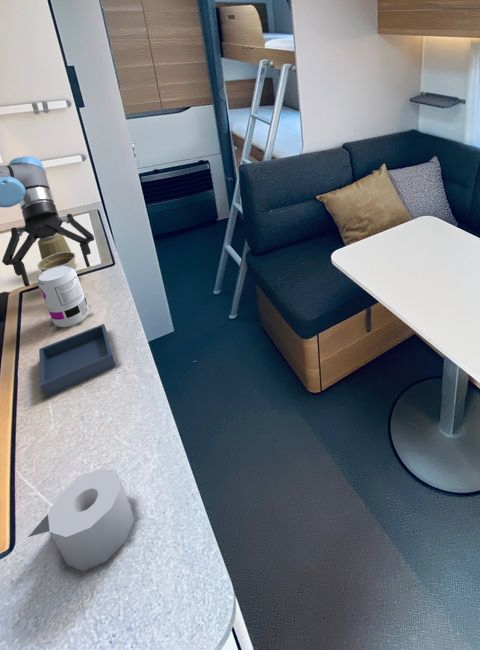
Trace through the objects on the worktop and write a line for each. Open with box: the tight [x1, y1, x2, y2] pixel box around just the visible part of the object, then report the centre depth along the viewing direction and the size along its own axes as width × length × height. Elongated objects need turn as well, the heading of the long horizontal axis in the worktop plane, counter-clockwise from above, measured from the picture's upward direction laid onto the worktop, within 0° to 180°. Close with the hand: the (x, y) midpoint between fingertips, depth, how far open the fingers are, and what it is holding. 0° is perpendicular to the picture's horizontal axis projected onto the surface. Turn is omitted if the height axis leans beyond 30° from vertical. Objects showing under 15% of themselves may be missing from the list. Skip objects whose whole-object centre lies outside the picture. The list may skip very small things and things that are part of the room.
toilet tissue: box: [27, 467, 135, 572], centre depth 63 cm, size 9×13×9 cm
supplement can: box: [37, 265, 91, 328], centre depth 109 cm, size 8×8×15 cm
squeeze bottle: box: [37, 233, 72, 260], centre depth 131 cm, size 8×8×18 cm
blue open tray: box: [38, 323, 117, 398], centre depth 97 cm, size 13×13×4 cm
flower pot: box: [36, 251, 77, 273], centre depth 125 cm, size 9×9×9 cm
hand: (58, 275), depth 111 cm, fingers open, 13 cm apart
